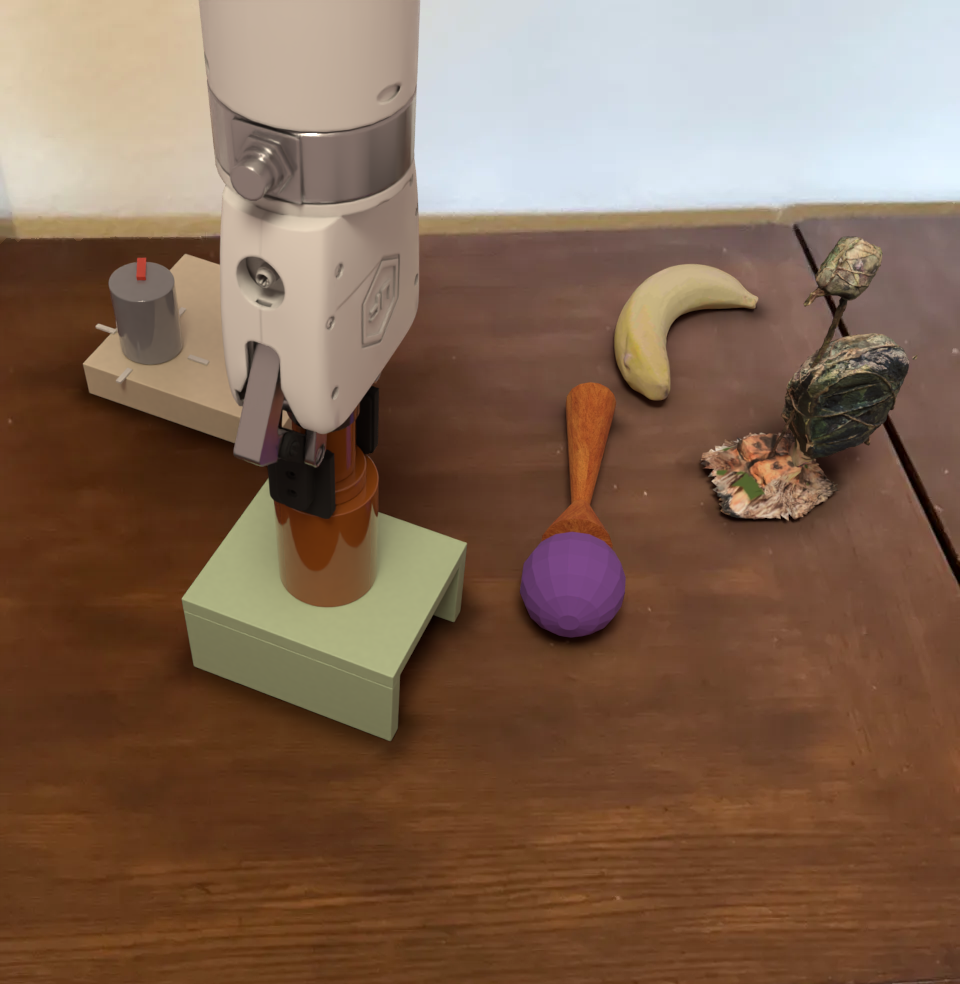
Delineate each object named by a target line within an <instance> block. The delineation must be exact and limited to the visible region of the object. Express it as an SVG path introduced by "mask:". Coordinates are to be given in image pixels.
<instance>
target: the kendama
mask: <svg viewBox="0 0 960 984" xmlns="http://www.w3.org/2000/svg"><path fill="white" fill-rule="evenodd" d="M565 400H566V401H565V415H566V434H567V448H568V449H567V453H568V466H569V467H568V469H569V485H570V503H571V504H570V505H569V506H568V507H567V508H566V509H565V510H564V511H563V512H561V514H560V515H559V516H557V518H556V519H555V520H554V521H553V522H552V523H551V524H550V525H549V527H548V528H546V530H545V532H543V534H542V535H541V539H540V542H539V544H538V545H537V546H536V547H535V548H534V550H533V551H532V552H531V553H530V555H529V556H528V557H527V558H526V560H525V561H524V562H523V567H522V571H521V572H522V573H521V580H520V587H519V594H520V596H521V598H522V601H523V603H524V606H525V608H526V611H527V613H528V615H529V617H530V619H531V620H532V621H533V622H534V623H536V624H537V625H538V627H540V628H541V629H543V630H546V631H548V632H550V633H552V634H555V635H557V636H559V637H565V638H578V637H584V636H589V635H592V634H594V633H596V632H598V631H601V630H603V629H604V628H605V627H607V625H608V624H609V623H610V622H611V621H612V620H613V619H614V618H615V616H616V615H617V614H618V613H619V610H620V609H621V608H622V606H623V602H624V598H625V593H626V579H627V577H626V574H625V571H624V568H623V565H622V562H621V561H620V559H619V557H618V556H617V553H616V551H614V550H613V547H614V544H613V541H612V539H611V536H610V534H609V532H608V531H607V529H606V528H605V526H604V524H603V523H602V522H601V520H600V518H599V517H598V516H597V513H596V512H595V510H594V509H593V508H592V506H591V503H592V499H593V495H594V492H595V487H596V483H597V480H598V476H599V473H600V468H601V465H602V461H603V457H604V453H605V449H606V445H607V442H608V437H609V433H610V430H611V427H612V423H613V418H614V416H615V415H614V414H615V411H616V408H617V407H616V406H617V399H616V397H615V394H614V393H613V392H612V390H610V388H609V387H607V386H605V385H603V384H601V383H598V382H592V381H591V382H590V381H588V382H584V383H579V384H578V385H576V386H574V387H572V388H571V390H570V391H569V392H568V393H567V395H566V399H565Z"/></svg>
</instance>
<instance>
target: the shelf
mask: <svg viewBox="0 0 960 984" xmlns="http://www.w3.org/2000/svg"><path fill="white" fill-rule="evenodd" d="M467 547H468V543H467V542H465V541H463V540H460V539H457V538H454V537H451V536H449V535H446V534H444V533H443V534H442V533H440V532H437V531H435V530H431V529H429V528H425V527H422V526H420V525H417V524H415V523H411V522H408V521H405V520H403V519H401V518H397V517H394V516H391V515H388V514H385V513H383V512H380V511H378V559H377V576H376V579H375V582H374V584H373V586H372V587H371V588H370V590H369V591H368V592H367V593H366V594H365V595H364V596H362V597H361V598H359V599H358V600H356V601H354V602H352V603H349V604H347V605H343V606H338V607H317V606H312V605H309V604H306V603H304V602H301V601H300V600H298V599H296V598H295V597H293V596H292V595H291V594H290V593H289V592H288V591H287V590H286V589H285V587H284V586H283V584H282V582H281V579H280V575H279V566H278V553H277V541H276V528H275V516H274V503H273V499H272V498H271V496H270V491H269V479H268V478H267V479H266V481H265V482H264V483H263V485H261V487H260V489H259V490H258V492H257V493H256V495H255V496H254V498H253V499H252V500H251V501H250V503H249V504H248V505H247V507H246V508H245V510H244V511H243V512H242V514H241V516H240V517H239V518H238V520H237V521H236V522H235V524H234V525H233V526H232V527H231V529H230V531H229V532H228V534H227V535H226V536H225V538H224V539H223V540H222V542H221V543H220V545H219V546H218V547H217V548H216V550H215V551H214V553H213V554H212V556H211V557H210V558H209V560H208V561H207V563H206V564H205V566H204V567H203V568H202V569H201V571H200V572H199V574H197V577H195V579H194V580H193V582H192V583H191V585H190V586H189V587H188V589H187V590H186V592H185V593H184V594H183V596H182V597H181V605H182V610H183V614H184V620H185V625H186V631H187V637H188V643H189V648H190V653H191V659H192V663H193V667H195V668H198V669H200V670H202V671H205V672H208V673H210V674H213V675H216V676H218V677H220V678H224V679H226V680H229V681H231V682H233V683H236V684H239V685H242V686H245V687H246V688H249V689H252V690H255V691H258V692H260V693H263V694H266V695H267V696H270V697H273V698H276V699H278V700H282V701H284V702H286V703H289V704H291V705H294V706H297V707H299V708H302V709H305V710H307V711H310V712H313V713H314V714H318V715H320V716H322V717H325V718H328V719H331V720H332V721H333V720H334V721H336V722H338V723H341V724H344V725H347V726H349V727H351V728H355V729H356V730H359V731H362V732H365V733H367V734H370V735H372V736H375V737H378V738H380V739H383V740H385V741H388V742H391V741H392V740H393V739H394V736H395V735H396V733H397V731H398V729H399V712H400V711H399V708H400V687H401V686H400V684H401V681H400V680H401V675H402V672H403V670H404V668H405V667H406V665H407V664H408V662H409V660H410V658H411V655H412V654H413V652H414V650H415V649H416V647H417V645H418V643H419V642H420V640H421V637H422V636H423V634H424V632H425V630H426V628H427V627H428V625H429V623H430V622H431V620H432V618H433V616H435V617H438V618H441V619H443V620H446V621H449V622H452V623H455V622H456V620H457V619H458V616H459V615H460V613H461V608H462V599H463V588H464V580H465V569H466V559H467V550H468V549H467Z"/></svg>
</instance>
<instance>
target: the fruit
mask: <svg viewBox="0 0 960 984" xmlns="http://www.w3.org/2000/svg"><path fill="white" fill-rule="evenodd" d="M758 302H759V297H758V296H756V295H754V294H753V293H751V292H750V291H749V290H747V289H746V288H745V287H744V286H743V285H742V283H741V282H740V281H739V280H738V279H737V278H735V277H734V276H732V275H731V274H730V273H728V272H726V271H724V270H721V269H719V268H718V267H714V266H711V265H707V264H706V265H705V264H699V263H698V264H697V263H685V264H678V265H677V264H676V265H671V266H669V267H666V268H663V269H662V270H659V271H657V272H655V273H654V274H652V275H650V276H649V277H646V279H645V280H644V281H643V282H642V283H640V285H639V286H637V287H636V288H635V289H634V291H633V292H632V294H631V295H630V296H629V298H628V300H627V301H626V302H625V304H624V305H623V307H622V309H621V311H620V313H619V315H618V319H617V322H616V325H615V330H614V337H613V338H614V339H613V340H614V341H613V344H614V345H613V347H614V348H613V349H614V356H615V362H616V365H617V368H618V369H619V371H620V373H621V376H622V377H623V379H624V381H625V382H626V383H627V385H629V387H630V388H631V389H632V390H634V391H635V392H637V393H639V394H641V395H643V396H644V397H646V398H647V399H649V400H651V401H662V400H666V399H667V398H668V396H669V394H670V393H671V367H670V360H669V357H668V351H667V338H668V337H667V336H668V333H669V330H670V328H671V326H672V325H673V323H674V322H675V320H676V319H678V318H679V317H680V316H682V315H685V314H687V313H691V312H694V311H700V310H717V309H718V310H721V309H722V310H723V309H738V308H745V309H750V310H754V309H756V306H757V303H758Z"/></svg>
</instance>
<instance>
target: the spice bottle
mask: <svg viewBox="0 0 960 984" xmlns="http://www.w3.org/2000/svg"><path fill="white" fill-rule="evenodd" d="M286 412H287V411H286ZM359 412H360V402H359V404H358V405H357V407H356V408H355V409H354V411H353V412H352V413H351V415H350V416H349V417H348V418H347V420H346V421H345V422H344V423H343V424H341V425H340V426H339V427H338V428H336V429H335V430H333V431H331V432H329V433H327V443H326V449H327V450H330V451H331V452H332V453H334V461H335V505H336V509H335V511H334V513H333V514H332V516H331V517H330V518H329V519H323V518H320V517H318V516H315V515H312V514H309V513H306V512H303V511H299V510H296V509H293V508H290V507H288V506H286V505H284V504H281V503H278V502H276V501H274V500H273V503H274V516H275V528H276V541H277V553H278V566H279V575H280V579H281V582H282V584H283V586H284V587H285V589H286V590H287V591H288V592H289V593H290V594H291V595H292V596H293V597H295V598H296V599H298V600H300V601H301V602H304V603H306V604H309V605H312V606H317V607H338V606H343V605H347V604H349V603H352V602H354V601H356V600H358V599H359V598H361V597H362V596H364V595H365V594H366V593H367V592H368V591H369V590H370V588H371V587H372V586H373V584H374V582H375V579H376V576H377V559H378V512H379V499H380V498H379V496H380V495H379V494H380V493H379V491H380V489H379V488H380V487H379V486H380V476H379V471H378V468H377V466H376V464H375V463H374V461H373V459H372V458H371V457H370V456H369V454H364V453H363V452H362V450H361V449H360V448H359V447H358V446H357V445H356V419H357V417H358V415H359ZM287 414H288V416H289V418H290V419H291V429H292V430H293V431H296V432H299V433H302V434H305V432H306V429H304V428H303V427H302V426H301V425H300V424H299V422H298V421H297V419H296V417H295V416H294V414H293V413H290V412H287Z"/></svg>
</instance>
